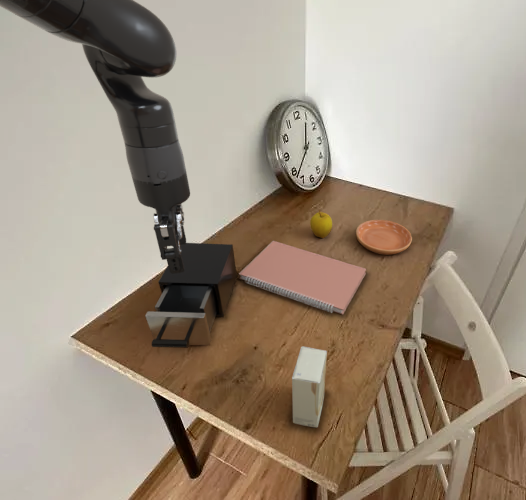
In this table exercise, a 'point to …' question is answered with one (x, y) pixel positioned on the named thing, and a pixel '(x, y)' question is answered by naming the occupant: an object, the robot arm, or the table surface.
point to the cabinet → (206, 271)
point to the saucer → (383, 236)
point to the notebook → (304, 276)
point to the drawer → (183, 316)
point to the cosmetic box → (309, 386)
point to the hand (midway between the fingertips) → (179, 257)
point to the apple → (321, 224)
